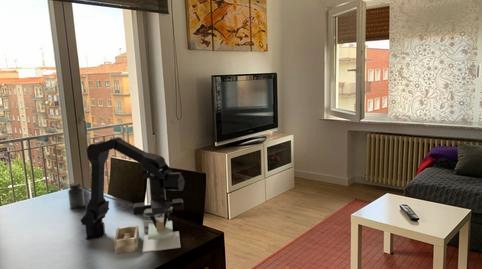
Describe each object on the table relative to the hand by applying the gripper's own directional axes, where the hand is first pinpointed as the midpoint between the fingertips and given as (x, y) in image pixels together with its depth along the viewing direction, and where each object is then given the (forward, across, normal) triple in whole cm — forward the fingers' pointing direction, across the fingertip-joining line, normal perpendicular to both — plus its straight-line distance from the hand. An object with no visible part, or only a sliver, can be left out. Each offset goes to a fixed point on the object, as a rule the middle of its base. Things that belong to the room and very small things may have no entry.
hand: (160, 227), depth 144 cm
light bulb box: (+6, -2, +14) cm, 15 cm away
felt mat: (+6, 0, 0) cm, 6 cm away
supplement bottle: (+6, -42, +53) cm, 68 cm away
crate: (+6, -13, +1) cm, 14 cm away
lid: (+3, 0, 0) cm, 3 cm away
